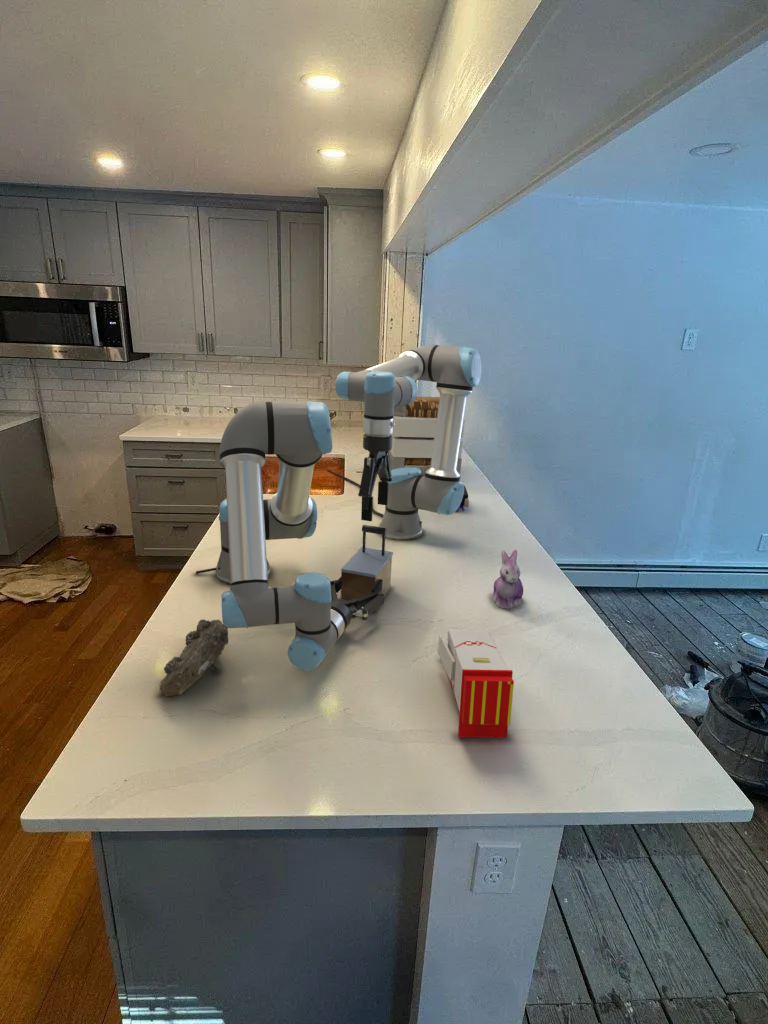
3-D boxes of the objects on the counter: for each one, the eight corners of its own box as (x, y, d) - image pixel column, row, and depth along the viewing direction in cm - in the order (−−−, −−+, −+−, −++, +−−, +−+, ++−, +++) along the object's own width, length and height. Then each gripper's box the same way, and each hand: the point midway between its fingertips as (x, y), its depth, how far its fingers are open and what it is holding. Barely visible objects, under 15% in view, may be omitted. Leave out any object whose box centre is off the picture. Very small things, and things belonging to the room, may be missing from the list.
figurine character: (468, 516, 224) (463, 500, 237) (471, 498, 221) (465, 483, 234) (452, 515, 224) (447, 499, 237) (453, 498, 220) (449, 482, 234)
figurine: (505, 613, 150) (512, 561, 145) (482, 596, 158) (488, 546, 153) (533, 606, 154) (540, 555, 149) (509, 589, 163) (515, 541, 158)
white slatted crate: (382, 463, 289) (386, 382, 275) (445, 464, 293) (451, 384, 279) (390, 482, 257) (394, 392, 243) (460, 483, 261) (468, 394, 247)
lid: (361, 549, 161) (362, 520, 158) (392, 554, 158) (394, 525, 155) (341, 571, 147) (341, 540, 144) (375, 577, 144) (376, 545, 141)
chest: (359, 582, 164) (360, 550, 160) (390, 587, 161) (392, 555, 158) (340, 605, 150) (341, 571, 147) (373, 612, 148) (375, 577, 144)
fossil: (183, 622, 131) (229, 592, 126) (212, 650, 134) (258, 621, 129) (138, 690, 111) (189, 657, 106) (173, 721, 114) (225, 691, 109)
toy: (488, 613, 130) (523, 677, 101) (484, 667, 133) (517, 744, 104) (435, 612, 130) (455, 676, 101) (432, 666, 133) (451, 743, 103)
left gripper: (287, 626, 134) (324, 586, 155) (375, 645, 129) (402, 600, 149) (286, 598, 132) (324, 561, 152) (376, 616, 126) (403, 575, 146)
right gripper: (376, 445, 133) (373, 529, 140) (405, 427, 155) (400, 500, 162) (346, 442, 135) (345, 525, 142) (378, 424, 157) (376, 496, 164)
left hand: (362, 580), depth 150 cm, fingers closed on chest, 9 cm apart
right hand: (374, 512), depth 152 cm, fingers open, 13 cm apart
